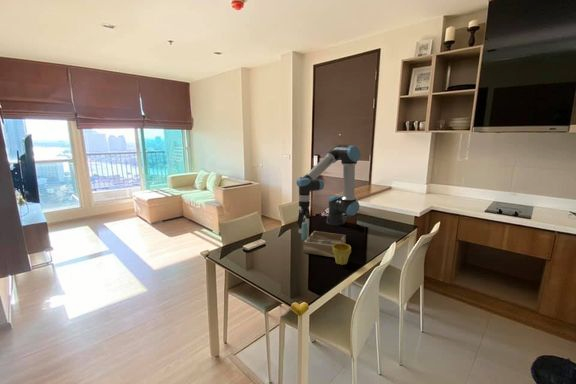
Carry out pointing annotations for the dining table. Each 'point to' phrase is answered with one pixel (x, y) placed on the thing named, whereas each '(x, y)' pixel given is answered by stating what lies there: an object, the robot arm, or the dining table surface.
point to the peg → (304, 231)
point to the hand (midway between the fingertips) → (303, 230)
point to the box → (323, 243)
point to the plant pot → (341, 253)
